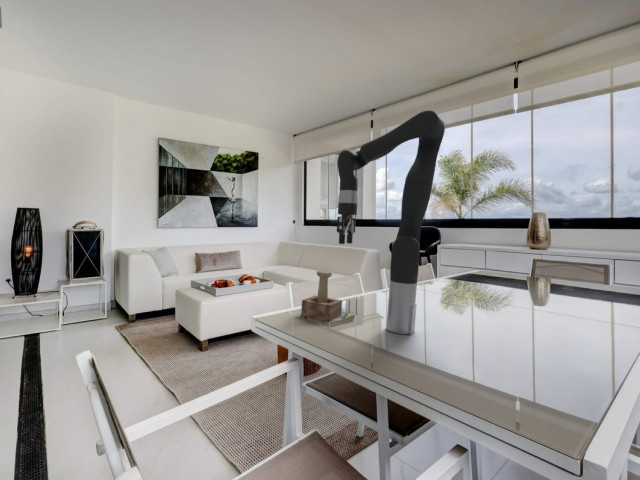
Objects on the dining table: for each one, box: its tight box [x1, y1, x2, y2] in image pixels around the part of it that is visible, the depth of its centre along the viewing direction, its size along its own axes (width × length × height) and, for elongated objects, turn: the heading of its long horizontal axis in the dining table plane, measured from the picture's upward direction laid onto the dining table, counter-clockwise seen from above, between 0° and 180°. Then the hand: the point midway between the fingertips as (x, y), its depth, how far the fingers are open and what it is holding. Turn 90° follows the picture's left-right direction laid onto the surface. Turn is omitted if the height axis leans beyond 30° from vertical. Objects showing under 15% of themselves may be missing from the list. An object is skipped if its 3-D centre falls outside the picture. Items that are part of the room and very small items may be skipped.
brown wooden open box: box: [300, 295, 343, 322], centre depth 129 cm, size 12×11×6 cm
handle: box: [316, 270, 333, 303], centre depth 128 cm, size 5×6×15 cm
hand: (345, 243), depth 132 cm, fingers open, 8 cm apart
